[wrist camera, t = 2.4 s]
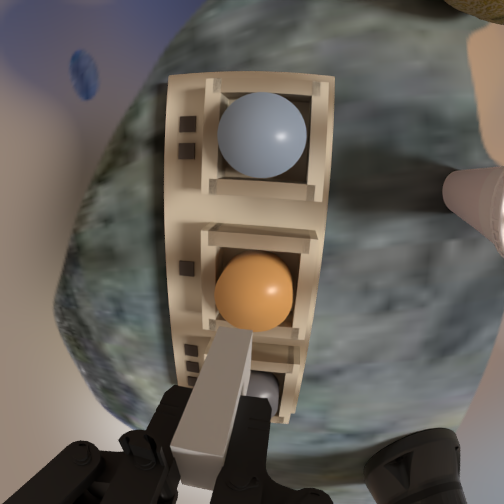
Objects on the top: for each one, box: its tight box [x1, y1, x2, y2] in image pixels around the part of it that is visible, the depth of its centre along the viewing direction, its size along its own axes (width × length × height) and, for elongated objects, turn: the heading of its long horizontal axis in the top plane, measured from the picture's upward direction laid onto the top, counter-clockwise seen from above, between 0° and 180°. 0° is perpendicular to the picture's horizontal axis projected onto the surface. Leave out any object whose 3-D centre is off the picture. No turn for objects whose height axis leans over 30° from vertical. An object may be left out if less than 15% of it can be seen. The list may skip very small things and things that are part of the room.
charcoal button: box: [246, 370, 279, 418], centre depth 23 cm, size 5×5×2 cm
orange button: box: [214, 249, 293, 332], centre depth 20 cm, size 5×5×2 cm
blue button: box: [217, 92, 307, 178], centre depth 17 cm, size 5×5×2 cm
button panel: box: [164, 71, 335, 424], centre depth 22 cm, size 30×12×4 cm, turn 177°
